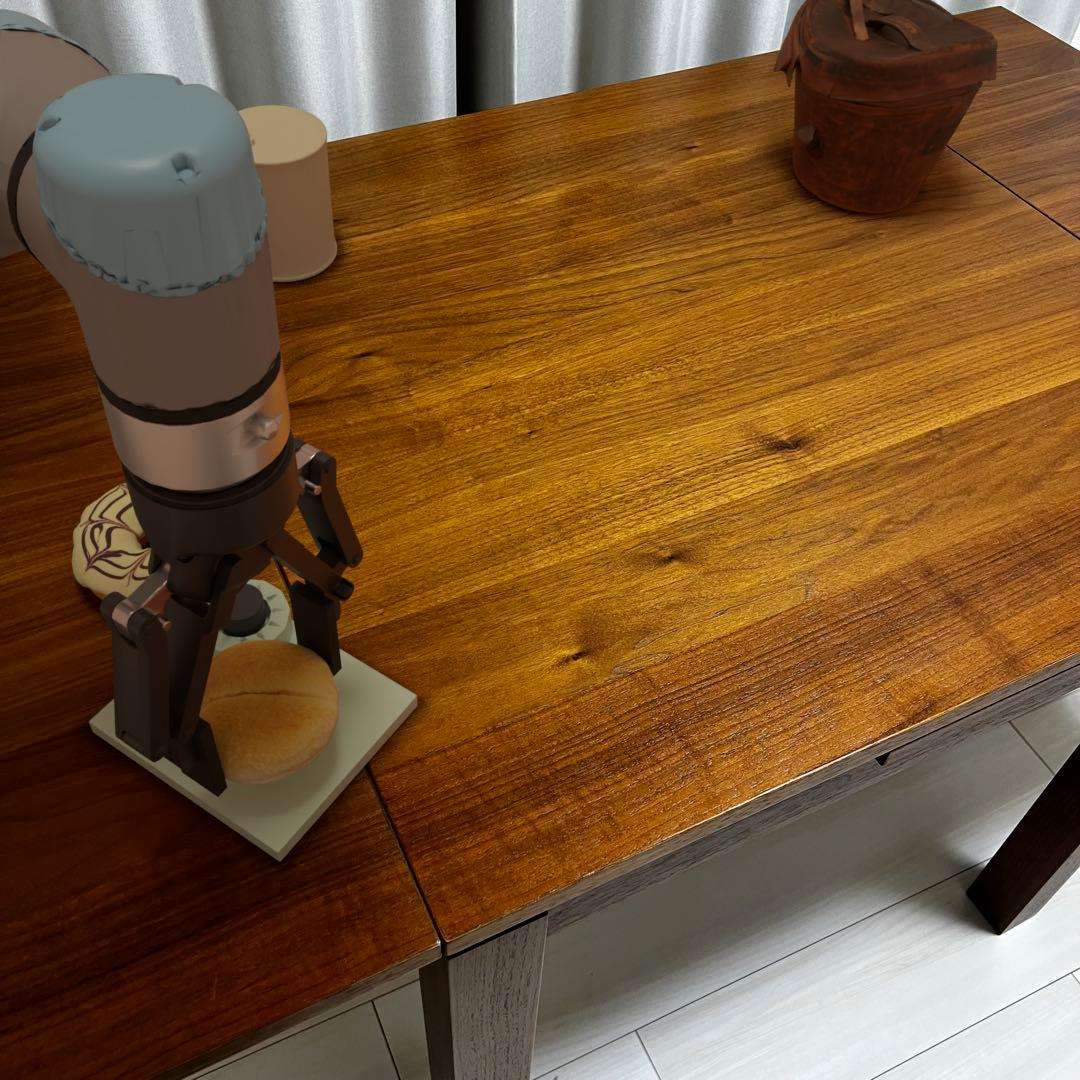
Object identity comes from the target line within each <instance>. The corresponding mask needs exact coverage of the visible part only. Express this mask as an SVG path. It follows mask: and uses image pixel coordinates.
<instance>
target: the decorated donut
mask: <svg viewBox="0 0 1080 1080" xmlns="http://www.w3.org/2000/svg"><path fill="white" fill-rule="evenodd" d="M72 542H73V549H72V557H71V567H72V573H73V576H74V579H75V580H76V581H77V583H79V584H80V585H81V586H82V587H84V588H88V589H89V590H90V591H91V592H92V593H93V594H94V596H96V597H97V598H99V599H100V600H102V601H103V599H104V598H105V597H106V596H107V595H108V594H109V593H111V592H114V591H116V592H119V593H121V594H122V595H124V596H125V597H128V596H129V595H131V594H132V593H133V592H134V591H135V590H136V589H137V588H138V587H139V586H140V585H141V584H142V583H143V582H144V581H145V580H146V579H147V578H148V577H149V573H148V562H149V558H150V552H151V547H147V548H145V549H143V548H144V546H145V545H146V544H148V543H149V541H148V539H147V537H146V535H145V533H144V531H143V530H142V528H141V526H140V524H139V522H138V520H137V517H136V515H135V512H134V508H133V505H132V502H131V498H130V495H129V491H128V488H127V484H126V482H124V483H120V484H118V485H117V486H115V487H114V488H111V489H110V490H108V491H107V492H104V494H103V495H102V496H100V497H99V498H98V499H96V500H95V501H93V502H91V503H90V504H89V505H88V506H86V507H85V509H84V510H83V512H82V514H81V515H80V523H78V525H77V526H76V527H75V528H74V530H73V532H72Z"/></svg>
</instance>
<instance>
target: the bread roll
mask: <svg viewBox="0 0 1080 1080" xmlns="http://www.w3.org/2000/svg"><path fill="white" fill-rule="evenodd" d="M338 715H339V710H338V689H337V685H336V682H335V679H334V677H333V675H332V672H331V670H330V668H329V666H328V664H327V663H326V662H325V660H323V659H322V658H321V657H320V656H319V655H318V654H317V653H315V652H314V651H313V650H311V649H308V648H305V647H303V646H301V645H298V644H294V643H289V642H286V641H281V640H280V639H279V640H270V639H269V640H264V639H262V640H246V641H242V642H240V643H238V644H236V645H233V646H231V647H229V648H227V649H225V650H223V651H222V652H221V653H219V654H218V655H216V656H215V657H214V658H213V659H212V663H211V668H210V672H209V676H208V680H207V685H206V689H205V693H204V697H203V702H202V706H201V710H200V714H199V717H201V718H202V719H204V720H205V721H207V722H208V723H210V725H211V729H212V732H213V736H214V740H215V743H216V747H217V751H218V754H219V758H220V762H221V765H222V769H223V773H224V776H225V778H226V779H228V780H230V781H233V782H236V783H239V784H242V785H248V786H252V785H264V784H269V783H274V782H277V781H280V780H283V779H285V778H288V777H290V776H293V775H294V774H296V773H298V772H299V771H301V770H303V769H304V768H306V767H307V766H308V765H310V764H311V763H312V762H314V761H315V760H316V759H317V758H318V757H319V756H320V755H321V754H322V753H323V751H324V750H325V749H326V747H327V746H328V744H329V742H330V740H331V738H332V736H333V734H334V732H335V731H334V730H335V729H336V725H337V722H338Z"/></svg>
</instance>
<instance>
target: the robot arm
mask: <svg viewBox="0 0 1080 1080" xmlns="http://www.w3.org/2000/svg"><path fill="white" fill-rule="evenodd" d="M238 111H239V110H238V109H237V108H236V106H234V104H233V103H232V102H231V101H230V100H229V99H228V98H226V97H225V95H223V94H221V93H220V92H218V91H216V90H214V89H213V88H211V87H209V86H208V85H206V84H202V83H190V84H189V83H188V84H184V83H183V82H182V81H181V79H180V78H179V77H177V76H175V75H172V74H167V73H166V74H165V73H156V72H155V73H153V72H131V73H124V74H123V73H122V74H116V75H112V74H111V72H110V70H109V68H108V67H107V66H106V65H105V64H104V63H103V62H101V61H100V60H99V59H98V57H97V56H96V55H95V54H94V53H93V52H91V51H90V50H89V49H87V48H85V47H84V46H83V45H82V44H80V43H78V42H77V41H75V40H74V39H71V38H70V37H69V36H67V35H65V34H64V33H62V32H59V31H58V30H56V29H55V28H53V27H51V26H50V25H49V24H47V23H46V22H43V21H42V20H40V19H38V18H37V17H35V16H32V15H29V14H26V13H24V12H20V11H18V10H12V9H6V8H0V260H1V259H3V258H6V257H9V256H11V255H12V256H13V255H15V254H18V253H20V252H23V251H26V250H27V252H28V253H29V254H30V255H31V256H32V257H33V258H34V259H35V260H36V261H37V262H38V263H39V264H40V265H41V266H42V267H43V268H45V269H46V270H47V271H48V272H49V273H50V274H51V275H52V277H53V278H54V279H55V280H56V281H57V282H58V283H59V285H61V287H62V288H63V289H64V290H65V292H66V294H67V295H68V297H69V299H70V301H71V303H72V305H73V307H74V311H75V312H76V316H77V319H78V322H79V325H80V329H81V332H82V335H83V338H84V341H85V344H86V348H87V350H88V355H89V357H90V360H91V364H92V365H91V366H92V368H93V372H94V376H95V378H96V383H97V386H98V390H99V394H100V398H101V402H102V406H103V409H104V413H105V416H106V420H107V425H108V428H109V431H110V435H111V436H110V437H111V439H112V443H113V447H114V449H115V452H116V453H117V455H118V457H119V460H120V465H121V470H122V474H123V478H124V480H125V483H126V484H127V488H128V491H129V495H130V498H131V502H132V505H133V508H134V512H135V515H136V517H137V520H138V522H139V524H140V526H141V528H142V530H143V531H144V533H145V535H146V537H147V539H148V541H149V542H148V543H149V545H150V548H151V552H150V558H149V562H148V573H149V577H148V578H147V579H146V580H145V581H144V582H143V583H142V584H141V585H140V586H139V587H138V588H137V589H136V590H135V591H134V592H133V593H132V594H131V595H129V596H128V597H125V596H124V595H122V594H121V593H119V592H116V591H114V592H111V593H109V594H108V595H107V596H106V597H105V598H104V599H103V600H102V601H101V603H100V606H99V611H100V614H101V616H102V617H103V619H104V621H105V623H106V625H107V627H108V628H109V630H110V632H111V655H112V682H113V683H112V685H113V699H114V714H115V735H116V737H117V738H118V739H120V740H121V741H123V742H124V743H125V744H127V745H128V746H130V747H131V748H133V749H134V750H136V751H137V752H138V753H140V754H141V755H143V756H144V757H146V758H147V759H149V760H150V761H152V762H157V761H159V760H160V759H161V758H162V757H164V758H166V759H167V760H168V761H170V762H171V763H173V764H174V765H176V766H177V767H179V768H180V769H181V771H182V773H183V774H185V775H186V776H188V777H189V778H191V779H192V780H194V781H195V782H197V783H198V784H199V785H201V786H202V787H204V788H205V789H207V790H208V791H210V792H211V793H213V794H214V795H216V796H217V797H219V796H220V795H221V794H222V793H223V792H224V791H225V790H226V789H227V784H226V780H225V776H224V773H223V769H222V765H221V762H220V758H219V754H218V751H217V747H216V743H215V740H214V736H213V732H212V729H211V725H210V723H208V722H207V721H205V720H204V719H202V718H201V717H199V714H200V710H201V706H202V702H203V697H204V693H205V689H206V685H207V680H208V676H209V672H210V668H211V663H212V659H213V655H214V650H215V646H216V642H217V638H218V633H219V630H221V629H223V628H226V627H227V626H228V625H229V623H230V620H231V616H232V611H233V607H234V603H235V599H236V595H237V594H238V593H239V592H240V591H241V590H242V588H243V587H244V586H245V585H246V583H247V582H248V581H249V580H250V579H252V580H253V579H254V578H255V577H257V576H258V575H260V574H261V573H262V572H263V571H265V570H266V569H267V568H268V567H269V566H270V565H271V564H272V563H271V559H274V560H275V561H277V562H278V563H279V564H281V565H282V566H283V567H285V568H286V569H287V570H289V571H291V572H292V573H293V574H295V575H296V576H297V577H298V578H301V579H302V580H304V583H303V582H302V581H301V580H298V579H296V580H295V581H294V582H293V583H292V584H291V585H289V587H288V593H289V600H290V606H291V607H290V608H291V614H292V620H293V621H294V626H295V632H296V638H297V644H298V645H301V646H303V647H305V648H308V649H311V650H313V651H314V652H315V653H317V654H318V655H319V656H320V657H321V658H322V659H323V660H325V662H326V663H327V664H328V666H329V668H330V670H331V672H332V675H333V676H335V675H336V674H337V673H338V672H339V671H340V670H341V669H342V665H341V656H340V649H341V647H340V640H339V633H338V624H337V622H338V621H339V620H340V618H341V615H342V607H341V602H342V603H345V602H347V601H349V600H350V599H351V597H352V596H353V593H354V591H355V587H356V585H355V584H354V582H352V581H351V580H348V579H347V578H345V577H343V576H342V575H343V574H344V572H345V571H346V570H347V568H350V569H356V568H357V567H358V566H359V565H360V563H361V562H362V561H363V558H364V550H363V548H362V545H361V543H360V540H359V538H358V535H357V533H356V530H355V528H354V525H353V522H352V520H351V519H350V515H349V513H348V511H347V508H346V506H345V504H344V501H343V499H342V497H341V494H340V492H339V489H338V486H337V484H338V482H337V481H338V479H337V476H338V473H337V472H338V471H337V465H338V462H337V458H336V457H334V456H333V455H331V454H329V453H327V452H325V451H323V450H322V449H320V448H318V447H316V446H314V445H313V444H311V443H308V442H307V441H305V440H303V439H301V438H300V437H294V434H293V431H292V428H291V413H290V405H289V399H288V392H287V385H286V384H287V383H286V379H285V377H286V376H285V371H284V370H285V369H284V363H283V355H282V349H281V339H280V338H281V337H280V330H279V321H278V312H277V305H276V296H275V288H274V282H273V277H272V268H271V260H270V251H269V242H268V234H267V224H268V216H267V204H266V199H264V198H263V197H262V195H263V186H262V183H261V181H260V178H259V176H258V174H257V171H256V167H255V162H254V157H253V152H252V147H251V142H250V137H249V133H248V130H247V127H246V124H245V122H244V120H243V119H242V117H241V115H240V113H239V112H238ZM296 507H297V508H298V509H297V510H299V513H300V515H301V518H302V519H303V521H304V524H305V525H306V528H307V529H308V532H309V534H310V535H311V538H312V540H313V542H314V544H315V546H316V548H317V549H318V550H319V551H318V553H317V554H316V555H315V554H314V553H313V552H312V551H310V550H309V549H308V548H306V547H305V544H304V543H302V542H300V541H299V540H298V539H297V538H296V537H294V536H293V535H292V534H291V533H290V532H289V531H288V530H286V529H285V527H286V523H288V521H289V519H290V518H291V517H292V515H293V513H294V511H295V509H296ZM207 603H210V605H209V604H207Z"/></svg>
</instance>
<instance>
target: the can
mask: <svg viewBox="0 0 1080 1080" xmlns="http://www.w3.org/2000/svg"><path fill="white" fill-rule="evenodd" d="M237 111H238V112H239V113H240V115H241V117H242V119H243V120H244V122H245V124H246V127H247V130H248V133H249V137H250V142H251V147H252V152H253V157H254V162H255V167H256V171H257V174H258V176H259V178H260V181H261V183H262V186H263V195H262V197H263V198H264V199H266V204H267V216H268V224H267V234H268V242H269V251H270V260H271V268H272V277H273V283H291V282H299V281H303V280H306V279H309V278H312V277H315V276H316V275H319V274H321V273H322V272H324V271H325V270H326V269H328V268H329V267H330V266H331V265H332V263H334V261H335V259H336V257H337V254H338V244H337V240H336V237H335V228H334V220H333V219H334V218H333V217H334V216H333V208H332V207H333V206H332V193H331V182H330V168H329V154H328V130H327V127H326V124H324V121H322V120H321V119H320V118H319V117H318V116H316V115H315V114H313V113H311V112H309V111H308V110H305V109H301V108H298V107H294V106H289V105H281V104H280V105H278V104H265V105H257V106H250V107H247V108H243V109H240V110H237Z"/></svg>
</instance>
